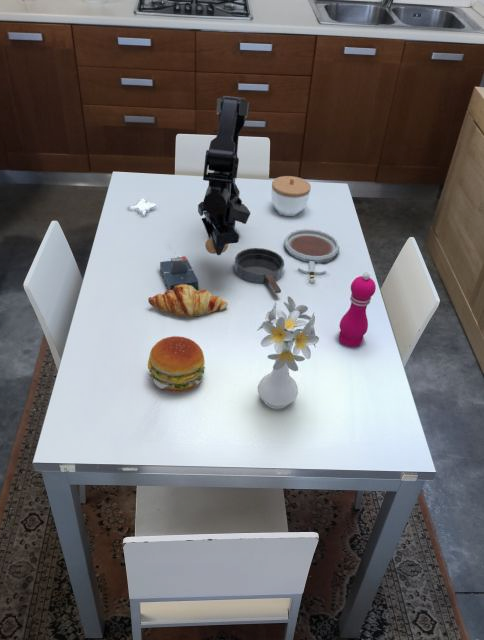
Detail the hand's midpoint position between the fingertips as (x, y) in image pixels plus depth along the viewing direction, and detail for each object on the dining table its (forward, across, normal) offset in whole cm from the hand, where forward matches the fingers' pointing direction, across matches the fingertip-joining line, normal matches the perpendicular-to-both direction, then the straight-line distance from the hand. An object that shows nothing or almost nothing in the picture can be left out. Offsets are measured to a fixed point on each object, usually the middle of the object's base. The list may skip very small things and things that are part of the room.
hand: (216, 250), depth 178 cm
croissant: (+8, -14, +12) cm, 20 cm away
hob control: (+8, 0, +11) cm, 14 cm away
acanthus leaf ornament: (+8, +43, +12) cm, 45 cm away
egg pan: (+8, 0, -13) cm, 16 cm away
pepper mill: (+8, -36, -26) cm, 45 cm away
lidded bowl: (+8, +33, -35) cm, 49 cm away
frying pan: (+8, +3, -31) cm, 33 cm away
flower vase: (+8, -54, +1) cm, 55 cm away
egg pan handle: (+6, -11, -13) cm, 18 cm away
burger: (+8, -40, +22) cm, 46 cm away
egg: (0, 0, 0) cm, 0 cm away
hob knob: (+5, 0, +11) cm, 12 cm away
